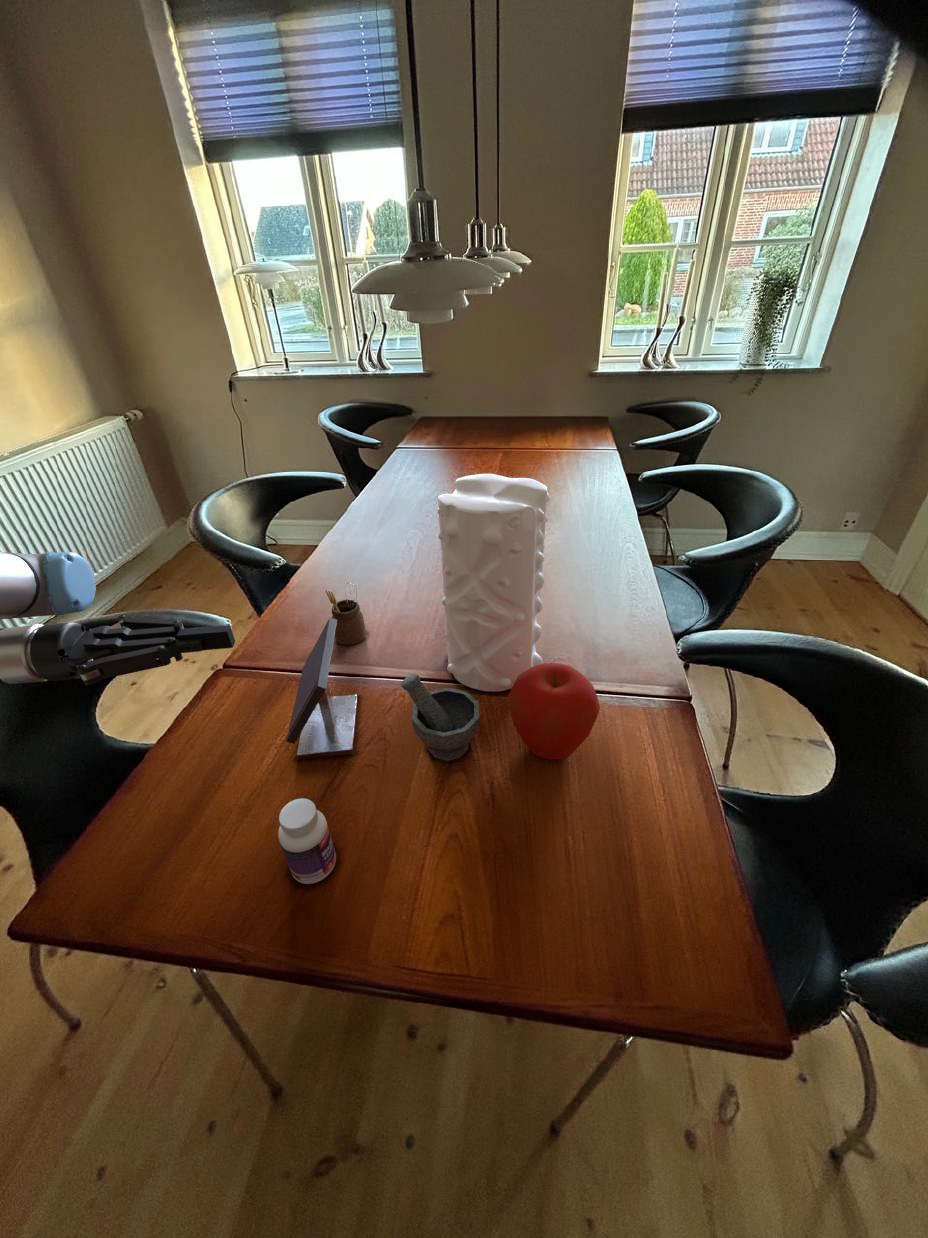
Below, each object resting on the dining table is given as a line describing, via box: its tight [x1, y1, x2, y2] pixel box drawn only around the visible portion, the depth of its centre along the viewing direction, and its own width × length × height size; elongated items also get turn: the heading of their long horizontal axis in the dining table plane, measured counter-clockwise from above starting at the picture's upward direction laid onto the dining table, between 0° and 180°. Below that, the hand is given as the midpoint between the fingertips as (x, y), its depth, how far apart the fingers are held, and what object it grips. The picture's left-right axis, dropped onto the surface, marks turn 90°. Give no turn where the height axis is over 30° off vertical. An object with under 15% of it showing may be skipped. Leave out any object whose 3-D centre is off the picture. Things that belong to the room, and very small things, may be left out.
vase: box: [437, 473, 551, 692], centre depth 85 cm, size 17×16×32 cm
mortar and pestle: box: [401, 673, 480, 762], centre depth 76 cm, size 11×9×12 cm
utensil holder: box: [325, 582, 367, 646], centre depth 99 cm, size 6×6×12 cm
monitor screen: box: [285, 616, 337, 745], centre depth 77 cm, size 1×16×11 cm
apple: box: [506, 662, 601, 760], centre depth 74 cm, size 12×12×14 cm
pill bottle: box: [277, 798, 337, 885], centre depth 61 cm, size 5×5×10 cm
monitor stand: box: [296, 681, 359, 761], centre depth 80 cm, size 8×12×8 cm, turn 6°
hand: (231, 636), depth 71 cm, fingers closed
